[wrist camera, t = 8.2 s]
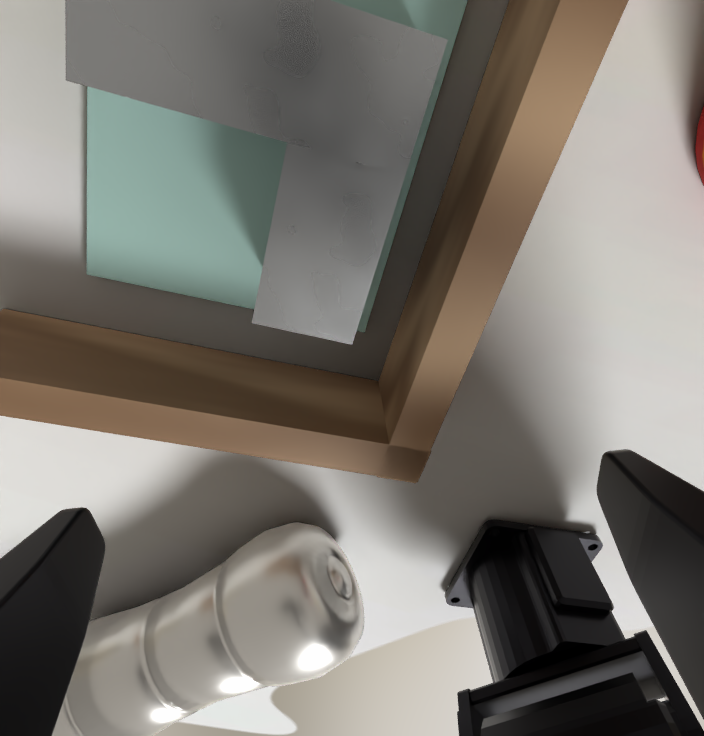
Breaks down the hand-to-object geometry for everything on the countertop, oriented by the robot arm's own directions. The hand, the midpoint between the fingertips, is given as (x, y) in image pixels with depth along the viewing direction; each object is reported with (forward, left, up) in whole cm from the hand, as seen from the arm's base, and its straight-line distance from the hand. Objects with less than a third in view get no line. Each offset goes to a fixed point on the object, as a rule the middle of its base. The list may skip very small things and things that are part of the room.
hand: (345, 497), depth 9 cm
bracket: (+3, +3, -11) cm, 12 cm away
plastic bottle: (-13, -4, -8) cm, 16 cm away
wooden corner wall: (+3, +3, -11) cm, 12 cm away
